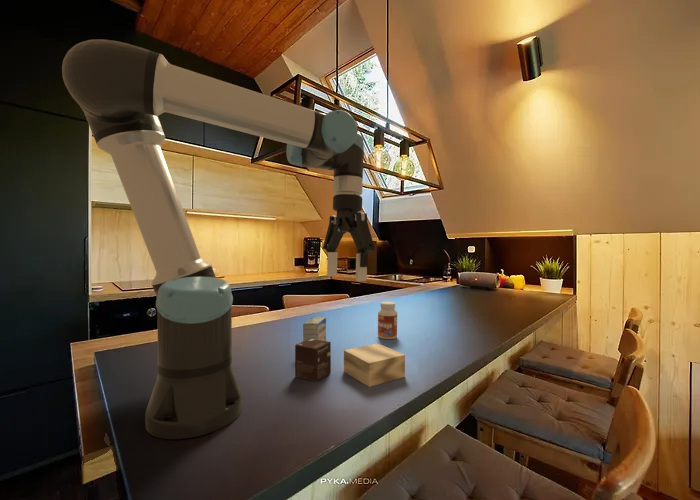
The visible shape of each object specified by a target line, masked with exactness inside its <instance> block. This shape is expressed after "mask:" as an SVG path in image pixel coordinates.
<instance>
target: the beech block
mask: <svg viewBox="0 0 700 500" xmlns="http://www.w3.org/2000/svg"><path fill="white" fill-rule="evenodd" d="M343 372H344V373H346V374H347V375H349V376H350V377H352V378H353V379H355V380H357V381H359V382H360V383H361V384H363V385H365V386H366V387H369V388H371V387H374V386H378V385H381V384H384V383H389V382H391V381H392V382H393V381H396V380H398V379H402V378H405V377H406V354H404V353H402V352H399V351H397V350H395V349H392V348H390V347H387V346H385V345H382V344H380V343H373V344H368V345H363V346H357V347H351V348H348V349H343Z"/></svg>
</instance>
